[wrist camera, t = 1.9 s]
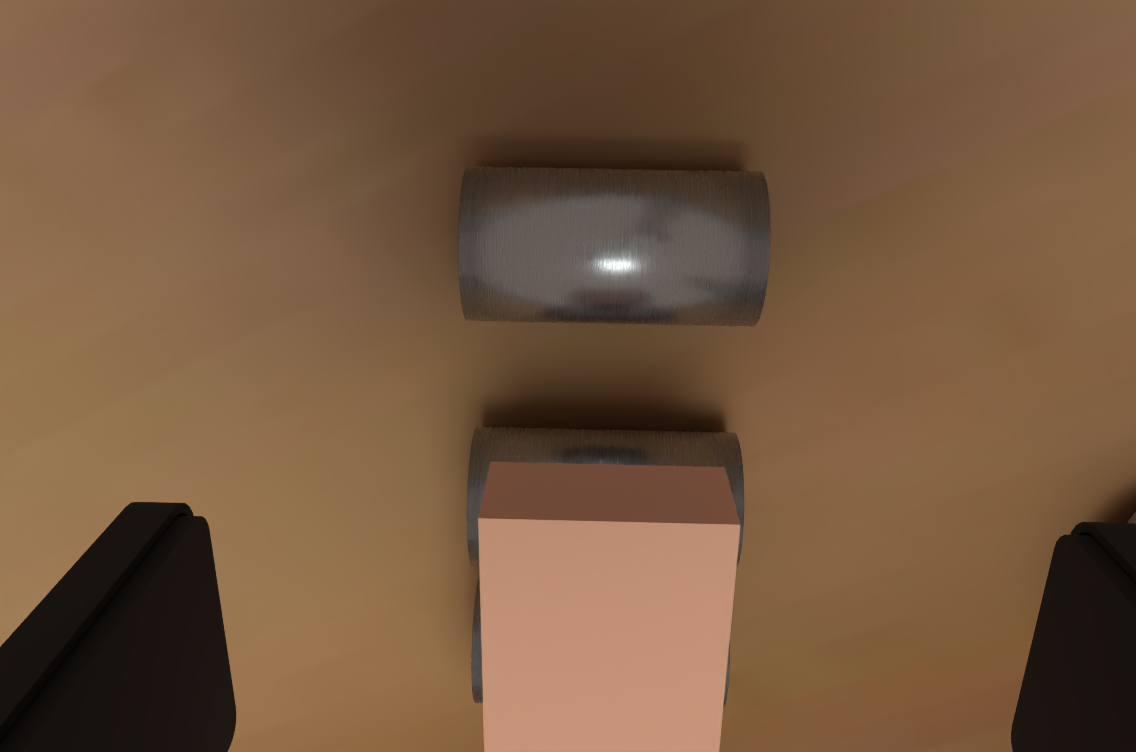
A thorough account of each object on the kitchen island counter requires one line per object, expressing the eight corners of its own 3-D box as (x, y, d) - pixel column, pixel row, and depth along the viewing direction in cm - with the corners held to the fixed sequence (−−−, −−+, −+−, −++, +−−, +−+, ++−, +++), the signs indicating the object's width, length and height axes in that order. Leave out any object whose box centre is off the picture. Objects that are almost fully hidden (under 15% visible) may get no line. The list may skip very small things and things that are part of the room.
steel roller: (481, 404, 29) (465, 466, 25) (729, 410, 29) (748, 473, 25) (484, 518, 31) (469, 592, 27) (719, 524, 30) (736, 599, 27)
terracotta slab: (490, 461, 24) (478, 518, 22) (724, 467, 24) (740, 524, 22) (496, 761, 28) (486, 840, 26) (699, 767, 28) (709, 847, 26)
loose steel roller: (475, 154, 26) (456, 182, 22) (750, 159, 26) (776, 188, 22) (478, 294, 28) (461, 342, 24) (738, 299, 28) (761, 348, 24)
